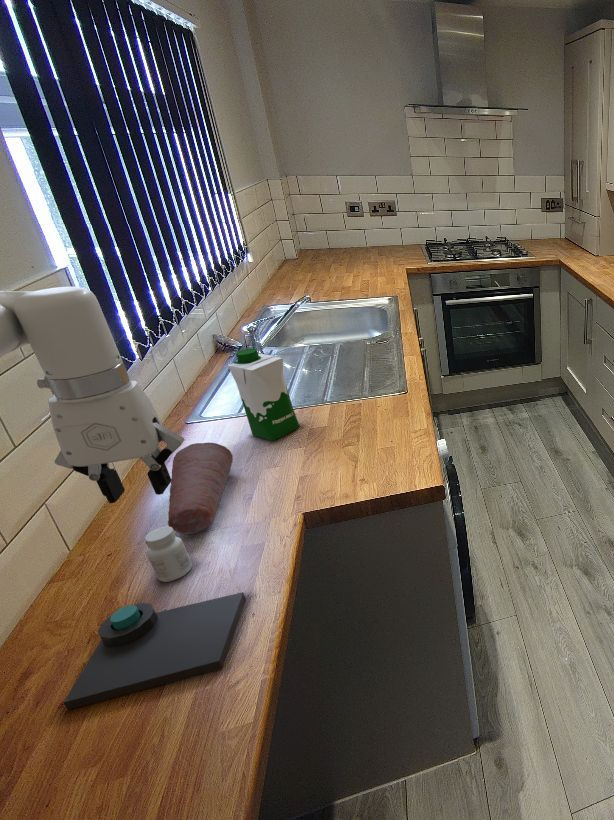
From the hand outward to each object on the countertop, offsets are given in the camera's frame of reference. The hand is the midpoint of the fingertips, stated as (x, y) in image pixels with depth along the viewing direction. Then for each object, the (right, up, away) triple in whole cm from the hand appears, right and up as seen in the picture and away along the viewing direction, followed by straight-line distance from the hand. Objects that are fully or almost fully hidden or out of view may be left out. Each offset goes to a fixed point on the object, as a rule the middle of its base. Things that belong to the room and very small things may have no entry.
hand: (140, 492), depth 77 cm
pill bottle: (0, -14, +6) cm, 16 cm away
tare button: (+3, -16, -6) cm, 18 cm away
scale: (+9, -20, -7) cm, 23 cm away
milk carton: (-9, +3, +47) cm, 48 cm away
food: (-8, -8, +21) cm, 24 cm away
